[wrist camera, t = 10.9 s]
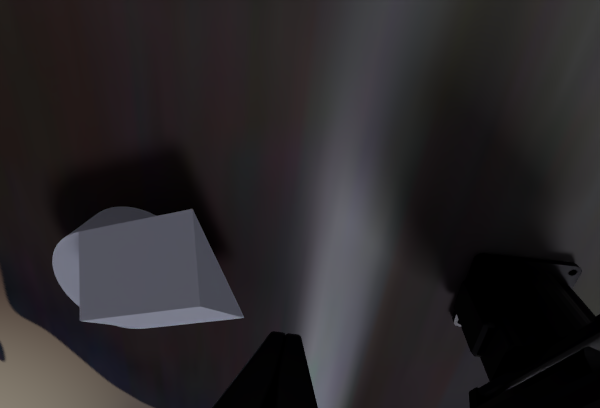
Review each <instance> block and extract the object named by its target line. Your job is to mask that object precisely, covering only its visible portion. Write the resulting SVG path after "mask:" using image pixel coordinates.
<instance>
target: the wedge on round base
mask: <svg viewBox="0 0 600 408" xmlns="http://www.w3.org/2000/svg"><path fill="white" fill-rule="evenodd" d="M52 263H53V270H54V273H55V276H56V278H57V280H58V282H59V284H60V286H61V287H62V289H63V290H64V291H65V293H66V294H67V295H68V296H69V297H70V298H71V300H72V301H74V302H75V303H76V304H77V305H78V306H79V307H80V321H84V322H93V323H101V324H109V325H115V326H119V327H123V328H130V329H144V328H154V327H163V326H173V325H182V324H191V323H201V322H210V321H220V320H229V319H238V318H244V316H243V314H242V312H241V310H240V308H239V306H238V303H237V301H236V299H235V297H234V295H233V293H232V291H231V289H230V287H229V284H228V282H227V280H226V278H225V276H224V274H223V272H222V270H221V268H220V266H219V263H218V261H217V259H216V257H215V255H214V253H213V251H212V249H211V247H210V245H209V242H208V240H207V238H206V236H205V234H204V232H203V230H202V228H201V226H200V223H199V221H198V219H197V217H196V215H195V213H194V211H193V209H189V210H184V211H179V212H174V213H169V214H164V215H159V216H156V215H154V214H152V213H150V212H147V211H144V210H142V209H138V208H133V207H111V208H108V209H105V210H103V211H101V212H99V213H97V214H96V215H95V216H93V217H92V218H91V219H89V220H88V221H86V222H85V223H84V224H82V225H81V226H80V227H78V228H77V229H76V230H74V231H73V232H71V233H70V234H69V235H67V236H66V237H65V238H63V239H62V240H61V241H60V242H59V243H58V244H57V246H56V248H55V250H54V253H53V261H52Z"/></svg>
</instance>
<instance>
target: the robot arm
mask: <svg viewBox="0 0 600 408" xmlns="http://www.w3.org/2000/svg"><path fill="white" fill-rule="evenodd" d="M482 260H485V261H484V262H480V261H482ZM570 270H572V271H570ZM569 271H570V272H569ZM581 272H582V270H581V268H580V267H579V266H578V265H577V264H575V263H571V262H562V261H552V260H543V259H534V258H524V257H515V256H505V255H496V254H486V253H480V254H478V255H476V256H475V257H474V259H473V262H472V265H471V268H470V270H469V273H468V276H467V279H465V280H464V281H463V283H462V285H461V288H460V291H459V294H458V296H457V299H456V302H455V305H454V309H455V311H454V314H453V317H452V319H453V322H454V324H455V325H456V326H459V327H462V330H463V333H464V335H465V338H466V340H467V343H468V346H469V348H470V351H471V353H472V354H473V355H474V356H477V357H480V358H481V361H482V363H483V366H484V368H485V371H486V373H487V376H488V378H489V381H490V382H488V383H487V384H485V385H483V386H481V387H480V388H477V387H476V388H474V389H473V390H471V391H469V402H470V408H600V315H598V316H595V315H594V314H593V313H592V312H591V311H590V309H589V308H588V307H587V306H586V305H585V304H584V302H583V301H582V300H581V299H580V298H579V297H578V295H577V294H576V293H575V292H574V291H573V290H572V288H573V287H574V285H575V283H576V282H577V280H578V278H579V276H580V275H581ZM212 408H318V407H317V403H316V398H315V394H314V390H313V386H312V382H311V377H310V373H309V369H308V365H307V360H306V356H305V352H304V348H303V343H302V339H301V336H300V335H297V334H290V333H288V334H285V333H283V332H275V331H273V332H271V333H270V334H269V335H268V337H267V338H266V339H265V340H264V342H263V343H262V344H261V346H260V347H259V348H258V349H257V351H256V352H255V353H254V355H253V356H252V357H251V358H250V360H249V361H248V362H247V364H246V365H245V366H244V367H243V369H242V370H241V371H240V373H239V374H238V375H237V376H236V378H235V379H234V380H233V382H232V383H231V384H230V385H229V387H228V388H227V389H226V391H225V392H224V393H223V394H222V396H221V397H220V398H219V400H218V401H217V402H216V404H215V405H214V406H213V407H212Z"/></svg>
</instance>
